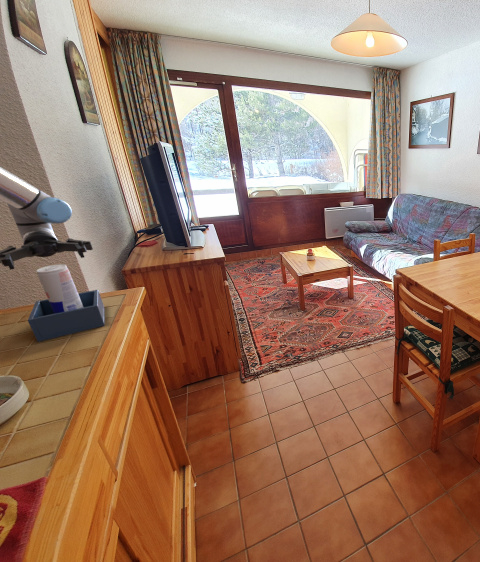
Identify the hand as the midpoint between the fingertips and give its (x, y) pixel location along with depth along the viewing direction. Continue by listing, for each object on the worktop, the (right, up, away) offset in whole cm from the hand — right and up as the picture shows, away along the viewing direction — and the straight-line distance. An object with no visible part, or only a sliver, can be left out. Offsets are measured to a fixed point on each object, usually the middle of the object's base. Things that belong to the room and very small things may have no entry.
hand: (47, 258), depth 83 cm
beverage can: (+7, -17, 0) cm, 18 cm away
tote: (+7, -17, 0) cm, 19 cm away
